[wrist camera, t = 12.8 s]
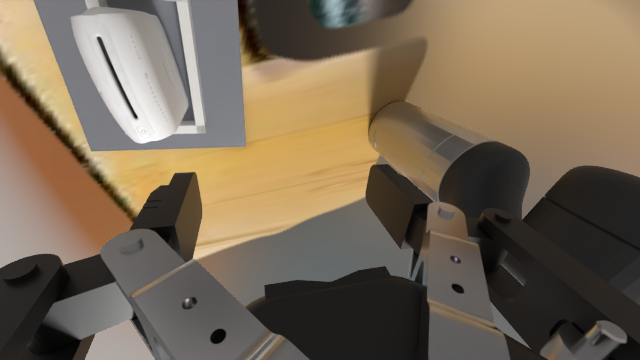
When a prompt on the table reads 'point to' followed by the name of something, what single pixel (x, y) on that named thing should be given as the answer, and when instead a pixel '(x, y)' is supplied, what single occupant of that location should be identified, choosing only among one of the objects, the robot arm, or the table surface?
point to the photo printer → (132, 70)
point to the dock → (192, 60)
